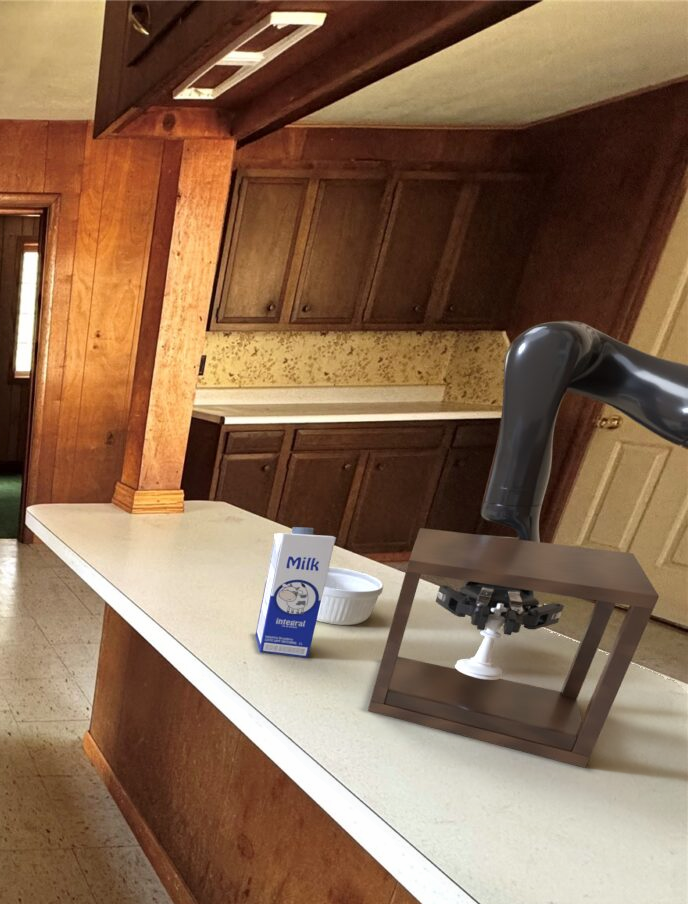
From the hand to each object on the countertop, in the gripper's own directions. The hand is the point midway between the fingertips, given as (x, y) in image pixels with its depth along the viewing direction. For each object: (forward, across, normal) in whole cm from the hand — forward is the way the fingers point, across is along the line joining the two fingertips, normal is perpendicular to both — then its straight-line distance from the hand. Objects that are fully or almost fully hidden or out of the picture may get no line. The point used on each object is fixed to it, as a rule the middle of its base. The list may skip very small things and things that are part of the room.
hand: (496, 625), depth 85 cm
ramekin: (-26, -20, +12) cm, 35 cm away
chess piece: (-3, 0, +8) cm, 9 cm away
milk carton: (-6, -24, +12) cm, 27 cm away
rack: (0, 0, +12) cm, 12 cm away
